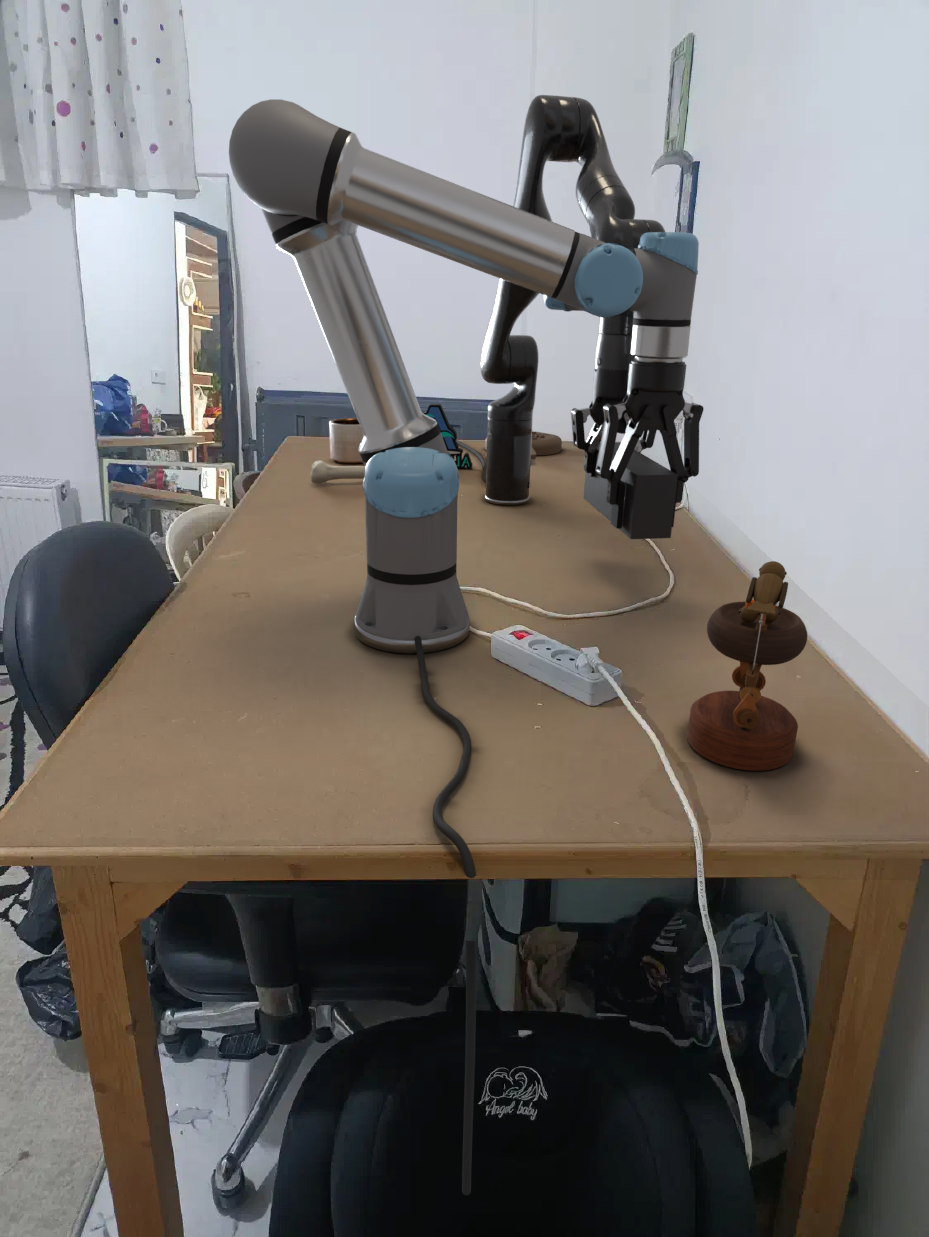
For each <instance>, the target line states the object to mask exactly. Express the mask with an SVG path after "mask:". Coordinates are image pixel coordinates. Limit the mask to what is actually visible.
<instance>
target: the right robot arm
mask: <svg viewBox="0 0 929 1237" xmlns="http://www.w3.org/2000/svg"><path fill="white" fill-rule="evenodd" d="M523 125H524V126H523V132H522V140H521V148H520V154H519V155H520V156H519V162H518V164H519V165H518V171H517V172H518V173H517V179H516V180H517V181H516V187H515V194H514V201H513V205H512V206H513V207H516V208H518V209H521V210H524V211H526V212H529V213H531V214H534V215H536V216H539V217H541V218H544V219H547V220H549V221H552V222H553V218H552V216H551V214H550V211H549V208H548V206H547V202H546V199H545V195H544V189H543V188H544V187H543V182H544V180H543V179H544V171H545V166H546V163H547V162H555V163H556V162H557V163H559V162H560V163H574V162H575V163H578V164H579V166H580V167H581V169H580V171H579V175H578V176H577V179H576V183H575V198H576V203H577V205H578V207H579V210H580V211H581V214H582V215H583V217H584V219H585V221H586V223H587V225H588V227H589V232H590V237H592V238H595V239H597V240H600V241H602V242H605V243H616V244H619V245H621V246H623V247H625V248H627V249H634V248H638V245H639V244H640V238H641V236H642V235H643V234H644V233H649V232H666V229H665V228H664V226H663V225H662V223H661V222H659V221H657V220H655V219H639V218H638V219H637V218H635V217H636V206H635V203H634V200H633V198H632V196H631V195H630V193H629V191H628V190H627V188H626V186H625V184H624V183H623V181H622V180H621V178H620V177H619V174H618V172H617V170H616V169H615V166H614V164H613V160H612V158H611V155H610V151H609V147H608V144H607V141H606V137H605V134H604V131H603V128H602V125H601V121H600V118H599V116H598V114H597V111H596V109H595V107H594V106H593V105H592V103H591V102H590V101H589V100H588V99H585V98H582V97H576V96H564V95H549V94H538V95H536V96H535V97H533V99H532V100H531V102H530V104H529V107H528V108H527V112H526V116H525V119H524V124H523ZM539 295H540V293H538V292H535V291H532V290H530V289H527V288H524V287H522V286H519V285H516V284H514V283H511V282H508V281H506V280H503V279H500V278H498V282H497V288H496V294H495V298H494V303H493V306H492V311H491V315H490V318H489V322H488V324H487V328H486V332H485V335H484V339H483V343H482V348H481V352H480V359H479V360H480V363H479V364H480V365H479V366H480V367H479V368H480V374H481V377H482V379H483V380H484V381H485V382H486V383H488V384H493V385H494V384H495V385H502V384H503V385H509V384H513V385H512V388H511V389H510V391H509V392H508V393H506V394H505V395H503V396H501V397H499V398H497V399H495V400H493V401H491V402H489V403H488V405H487V415H486V416H487V417H486V418H487V422H486V438H487V450H486V458H484V456H483V455H481V453H479V451H477V450H476V449H475V448H473V447H471V445H470V446H469V445H468V444H466V443H464V442H462V441H460V440H458V439H456V441H457V444H458V446H460V447H461V448H464V449H466V450H468V451H470V452H471V453H473V455H475V456H476V457H477V458H478V459H479V460H480V462H481V465H482V474H481V477H482V479H483V481H484V483H485V494H484V500H485V502H487V503H490V504H494V505H500V506H520V505H524V504H527V503H529V502H530V486H531V481H532V480H531V462H532V461H531V460H532V459H531V443H532V432H533V417H534V414H533V413H534V408H535V403H536V392H537V381H538V372H539V348H538V347H539V346H538V343H537V341H536V339H535V337H533V336H531V335H528V334H511V333H512V330H513V328H514V326H515V324H516V322H517V320H518V319H519V318H520V316H521V315H522V314H523V313H524V311H525V310H526V309H527V308H528V307H529V306H530V305H531V304H532V303H533V301H534V300H536V298H537V297H538V296H539ZM633 318H634V313H633V311H624V312H622V313H620V314H618V315H615V316H613V317H609V318H601V317H599V323H598V335H597V342H596V346H595V354H594V355H595V356H594V368H593V369H594V370H593V383H592V399H591V402H590V404H589V406H588V407H584V408H577V407H573V408H571V410H570V417H571V431H572V442H573V445H574V447H576V448H577V449H579V450H582V451H584V458H583V459H584V461H583V470H584V472H587V475H588V476H590V477H595V469H596V457H597V454H596V453H595V451H596V449H597V447H598V445H599V444H600V443H601V438H602V433H603V428H604V423H605V418H604V411H603V406H604V405H605V404H607V403H609V404H616V403H620V402H623V400H624V398H625V396H626V394H627V384H628V373H629V363H630V362H631V360H634V358H635V357H634V356H632V355H631V354H630V352H631V340H632V329H633ZM589 416H590V418H591V419H592V420H593V422H594V423H593V425H592V427H591V429H590V431H589V435H588V437H587V439H585V438H586V436H585V424H586V423H587V421H588V417H589ZM629 421H630V418H629V416H628V415H627V413H626V411H623V413H622V417H621V419H619V425H618V431H617V434H621V435H623V436H624V435H625V433H626V427H627V425H628V423H629ZM657 431H658V430H656V429H653V430H649V431H644V432H643V435H642V436H641V437H640V439H639V440H638V442H637V444H636V447H635V449H634V450H636V451H638V452H640V453H641V454H642V451H643V450H646V449H652V447H653V446H654V443H655V440H656V435H657ZM485 459H486V461H485Z"/></svg>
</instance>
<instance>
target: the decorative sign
mask: <svg viewBox="0 0 929 1237" xmlns="http://www.w3.org/2000/svg"><path fill="white" fill-rule="evenodd" d="M422 413H423V414H424V415H427V416H429V417H431V418H433V419H435V420H436V422H437V424H438V427H439V429H440V432H441V435H442V438H443V440H444V443H445V446H446V448H447V451H448V452H449V453H450V455H451V457H452V458H453V459H454V461H455V463H456V466H457V469H465V468H466V469H472V468H473V465H474V464H473V462H472V459H471V456H470V454H469V452H465V453H464V449H463V448H462V447H459V446H460V445H458V444H457V441H456V440H458V433H457V431H456V429H455V428H454V427H453V426H451V424H450V423H449V420H448V418H447V416H446V413H445V411H444V409H443V405H442V404H441V403H430V404H429V405H428V407H427V410H425V411H424V412H422ZM463 453H464V454H463Z"/></svg>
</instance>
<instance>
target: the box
mask: <svg viewBox="0 0 929 1237" xmlns="http://www.w3.org/2000/svg"><path fill="white" fill-rule="evenodd" d="M620 444H621V442H615V446H614V451H613V456H612V461H611V464H612V462H613V460H614V458H615V455H616V453H617V451H618V449H619V446H620ZM599 449H600V444H599V445H598V447H597V449H596V451H595V453H596V454H597V457H596V464H597V459H598V454H599ZM610 467H611V466H610ZM584 472H585V471H584ZM677 478H678V474H676V473H674V472H672V471H671V470H670V468H667V467H665V466H664V465H662V464H661V463H659V462H657V461H655V460H653V459H652V458H649V457H648V456H646V455H644V454H643V453H642V452H641V453H640V452H638V451H636V450H634V451H633V453H632V456H631V458H630V460H629V462H628V464H627V467H626V469H625V471H624V473H623V476H622V478H621V481H623V482H624V483H626V485H625V497H624V508H623V519H622V529H618V530H619V531H620V532H621V533H623V534H624V535H625V536H626V537H627V538H628V539H630V540H649V539H650V540H653V539H654V540H655V539H671V538H672V537H671V536H672V529H673V527H672V521H673V513H674V504H675V495H676V487H677ZM607 485H608V481H607V479H605V478H602V477H600V476H599V475H598V474H596V472H595V477H590V476H588V475H587V472H585V474H584V487H583V499H584V500H585V501H586V502H587V503H588V504H590V506H592V507H593V508H594V509H595V510H596V511H597V512H599V513H600V514H601V515H602V516H603V517H604V518H606V520H608V521H609V522H610V523H611V512H612V505H611V504H609V503H608V502H607V499H606V498H607Z"/></svg>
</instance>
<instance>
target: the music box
mask: <svg viewBox="0 0 929 1237" xmlns="http://www.w3.org/2000/svg"><path fill="white" fill-rule="evenodd" d="M758 571H759V573H758V574H759V576H758V577H757V576H752V578H751V580H750V583H749V587H748V591H747V595H746V598H745V601H733V602H728V603H725V604H722V605H720V606H718V607H717V608H716V609H715V610H714V611H713V612H712V613H711V614H710V616H709V618H708V621H707V624H706V633H707V637H708V640H709V642H710V643H711V645H712V646H713V648H715V650H716V651H717V652H719V653H721V655H723V656H725V657H727V658H728V659H729V658H730V659H732V660H735V661H738V662H739V665H738V666H736V667H735V668H734V669H733V671H732V673H731V679H732V682H733V684H735V686H737V687H739V689H738V690H720V691H719V690H718V691H714V692H710V693H707V694H705V695H703V696H701V697H699V698H697V699H696V700H695V701H694V702H693V703H692V704H691V707H690V710H689V711H690V712H689V718H688V726H687V734H686V737H687V741H688V744H689V745H690V747H691V748H692V749H693V750H694V751H695V752H696V753H697V754H699V755H700V756H702V757H704V758H705V759H707V760H709V761H711V762H713V763H715V764H718V765H720V766H723V767H728V768H731V769H737V770H741V771H753V772H754V771H755V772H756V771H760V772H761V771H769V770H774V769H778V768H781V767H783V766H785V765H786V764H788V763H789V762H790V761H791V759H793V756H794V750H795V746H796V745H795V744H796V740H797V733H798V729H799V723H798V721H797V719H796V718H795V716H794V715H793V713H791V712H790V711H789V710H788V708H786V707H785V706H784V705H782V704H781V703H779V702H777V701H776V700H774V699H771V698H769V697H766V696H764V695H762V692H761V691H762V690H763V689H764V688H765V686H766V681H767V680H766V677H765V675H764V673H762V671H761V669H762V666H775V665H780V664H781V665H782V664H785V663H788V662H790V661H792V660H794V659H795V658H797V657H798V656H800V655H801V654H802V653H803V651H804V649H805V647H806V645H807V642H808V630H807V627H806V624H805V622H804V620H802V618H801V617H800V616H799V615H798V614H797V613H795V612H793V611H791V610H789V609H787V608H785V607H784V605H785V602H786V598H787V594H788V588H789V582H788V581H784V580H785V578H786V575H788V572H787V571H786V569H785V567H784V565H783V564H782V563H780V562H778V561H775V560H770V561H767V562H765V563H764V564H763V565H761V567H760V568H759V569H758ZM777 604H778V605H777Z"/></svg>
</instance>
